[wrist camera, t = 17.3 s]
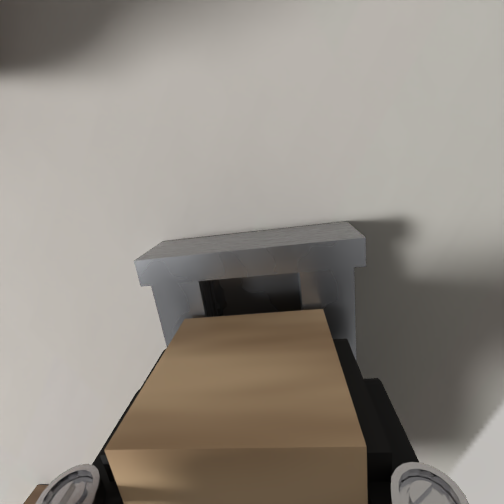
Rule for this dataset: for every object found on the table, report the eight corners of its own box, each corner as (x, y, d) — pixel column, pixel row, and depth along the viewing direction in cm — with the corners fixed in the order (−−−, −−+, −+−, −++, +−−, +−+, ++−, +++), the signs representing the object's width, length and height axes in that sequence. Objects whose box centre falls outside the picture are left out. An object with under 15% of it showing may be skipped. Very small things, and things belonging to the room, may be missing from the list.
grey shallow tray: (355, 480, 16) (369, 538, 13) (218, 480, 17) (207, 534, 14) (346, 221, 11) (365, 237, 9) (162, 241, 12) (134, 260, 10)
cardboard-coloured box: (336, 509, 12) (372, 721, 8) (226, 508, 13) (197, 704, 8) (322, 308, 10) (366, 446, 5) (184, 318, 10) (103, 449, 6)
